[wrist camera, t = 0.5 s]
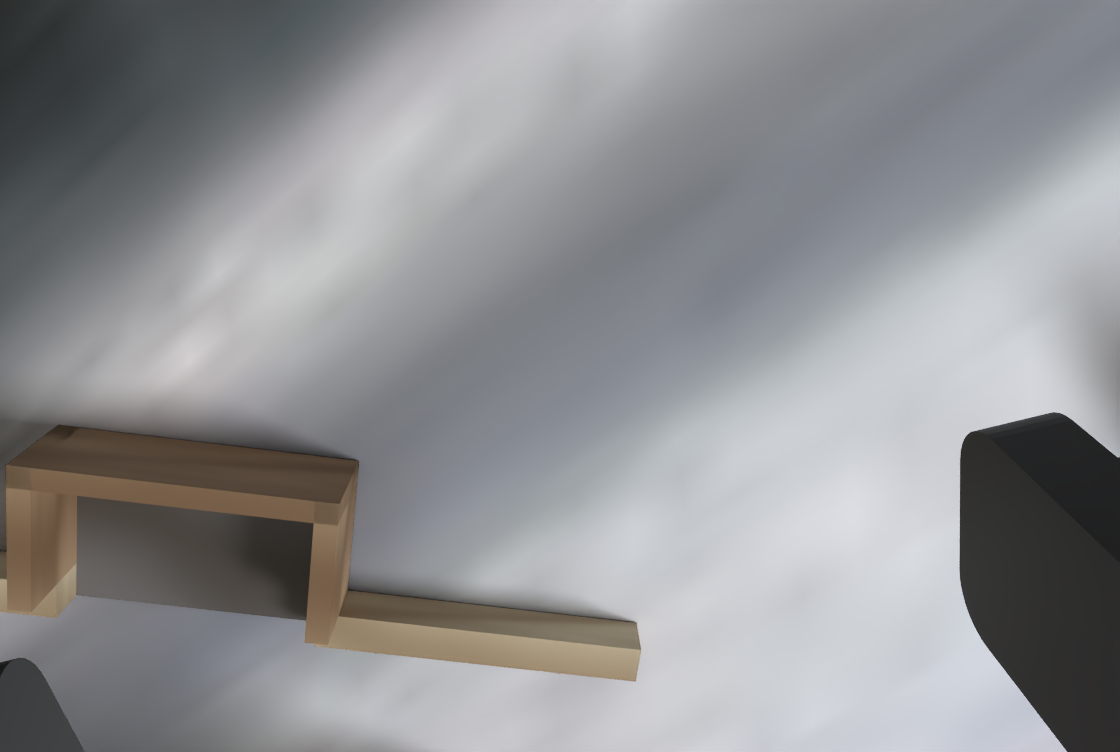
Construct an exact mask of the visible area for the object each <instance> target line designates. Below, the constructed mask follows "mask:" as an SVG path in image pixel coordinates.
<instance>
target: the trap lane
mask: <svg viewBox="0 0 1120 752" xmlns="http://www.w3.org/2000/svg"><path fill="white" fill-rule="evenodd" d="M358 468H359V461H355V460H347V459H338V458H330V457H321V456H313V455H305V454H296V453H288V452H280V451H271V450H263V449H254V448H246V447H238V446H229V445H221V444H212V443H204V442H196V441H187V440H179V439H171V438H162V437H154V436H145V435H137V434H129V433H120V432H112V431H103V430H95V429H87V428H78V427H70V426H62V425H58V426H57V427H55V428H54V429H53V430H51V431H50V432H49V433H47V434H46V435H45V436H43V437H42V438H41V439H39V440H38V441H37V442H35V443H34V444H33V445H31V446H30V447H29V448H27V449H26V450H25V451H23V452H22V453H21V454H19V455H18V456H17V457H16V458H14V459H13V460H12V461H10V462H9V463H8V464H6V548H7V552H4V551H0V612H8V613H17V614H26V615H36V616H45V617H54V618H57V616H58V615H59V614H60V613H61V612H62V611H63V610H64V608H65V607H66V606H67V605H68V604H69V603H70V602H71V600H72V599H73V598H74V597H75V596H76V595H81V596H90V597H99V598H108V599H117V600H126V601H135V602H144V603H153V604H162V605H171V606H180V607H189V608H198V609H207V610H216V611H225V612H234V613H243V614H252V615H261V616H270V617H279V618H288V619H297V620H306V631H305V643H313V644H314V646H317V647H327V648H336V649H345V650H354V651H363V652H372V653H381V654H390V655H399V656H408V657H417V658H427V659H436V660H445V661H454V662H463V663H472V664H481V665H490V666H499V667H508V668H518V669H527V670H536V671H545V672H554V673H563V674H572V675H581V676H590V677H599V678H608V679H618V680H627V681H636V676H637V670H638V665H639V659H640V653H641V647H640V641H639V635H638V629H637V623H633V622H624V621H615V620H606V619H597V618H589V617H580V616H571V615H562V614H553V613H544V612H535V611H527V610H518V609H509V608H500V607H491V606H482V605H473V604H465V603H456V602H447V601H438V600H429V599H420V598H411V597H403V596H394V595H385V594H376V593H367V592H358V591H349V590H348V583H349V571H350V560H351V548H352V537H353V526H354V514H355V503H356V491H357V480H358Z"/></svg>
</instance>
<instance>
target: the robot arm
mask: <svg viewBox="0 0 1120 752" xmlns="http://www.w3.org/2000/svg"><path fill="white" fill-rule="evenodd" d="M960 580H961V587H962V592H963V596H964V599H965V603H966V606H967V609H968V612H969V615H970V617H971V619H972V622H973V624H974V626H975V628H976V630H977V632H978V634H979V635H980V637H981V639H982V640H983V642H984V643H985V645H986V646H987V647H988V649H989V650H990V651H991V653H992V654H993V655H994V657H995V658H996V659H997V660H998V662H999V663H1000V664H1001V666H1002V667H1003V668H1004V670H1005V671H1006V672H1007V674H1008V675H1009V676H1010V677H1011V679H1012V680H1013V681H1014V683H1015V684H1016V685H1017V687H1018V688H1019V689H1020V690H1021V692H1022V693H1023V694H1024V696H1025V697H1026V698H1027V700H1028V701H1029V702H1030V704H1031V705H1032V706H1033V707H1034V709H1035V710H1036V711H1037V713H1038V714H1039V715H1040V717H1041V718H1042V719H1043V721H1044V722H1045V723H1046V724H1047V726H1048V727H1049V728H1050V730H1051V731H1052V732H1053V734H1054V735H1055V736H1056V738H1057V739H1058V740H1059V741H1060V743H1061V744H1062V745H1063V747H1064V748H1065V749H1066V751H1067V752H1120V457H1119V458H1117V457H1116V456H1115V455H1114V454H1112V453H1111V452H1110V451H1109V450H1108V449H1106V448H1105V447H1104V446H1103V445H1101V444H1100V443H1099V442H1098V441H1097V440H1095V439H1094V438H1093V437H1092V436H1091V435H1089V434H1088V433H1087V432H1086V431H1085V430H1083V429H1082V428H1081V427H1080V426H1079V425H1077V424H1076V423H1075V422H1074V421H1073V420H1071V419H1070V418H1068V417H1067V416H1065V415H1063V414H1060V413H1055V412H1053V413H1049V414H1044V415H1040V416H1036V417H1032V418H1028V419H1024V420H1019V421H1015V422H1011V423H1007V424H1003V425H999V426H994V427H990V428H986V429H982V430H978V431H974V432H971V433H969V434H968V435H967V436H966V437H965V439H964V441H963V444H962V449H961V458H960ZM0 752H84V750H83V748H82V746H81V744H80V743H79V741H78V739H77V737H76V735H75V733H74V731H73V730H72V728H71V726H70V724H69V722H68V720H67V718H66V717H65V715H64V713H63V711H62V709H61V707H60V705H59V703H58V702H57V700H56V698H55V696H54V694H53V692H52V690H51V689H50V687H49V685H48V683H47V681H46V679H45V678H44V676H43V674H42V673H41V671H40V670H39V669H38V667H37V666H36V665H35V664H34V663H32V662H31V661H29V660H27V659H25V658H17V659H13V660H9V661H5V662H1V663H0Z"/></svg>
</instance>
